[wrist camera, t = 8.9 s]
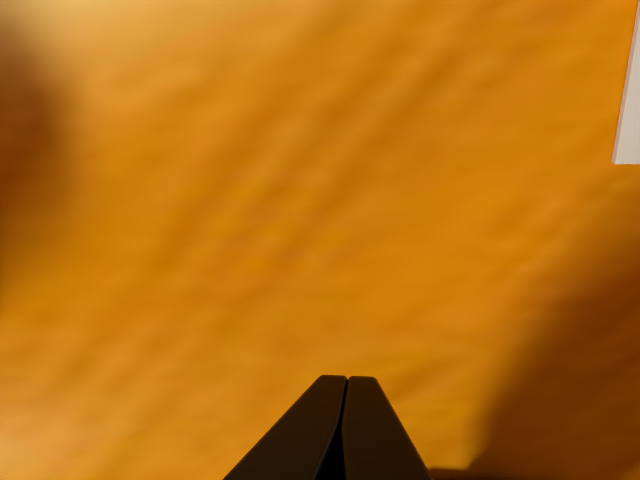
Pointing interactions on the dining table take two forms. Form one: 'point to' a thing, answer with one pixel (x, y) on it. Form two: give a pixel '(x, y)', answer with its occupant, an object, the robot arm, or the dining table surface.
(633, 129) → the card
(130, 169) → the dining table surface
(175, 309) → the dining table surface
